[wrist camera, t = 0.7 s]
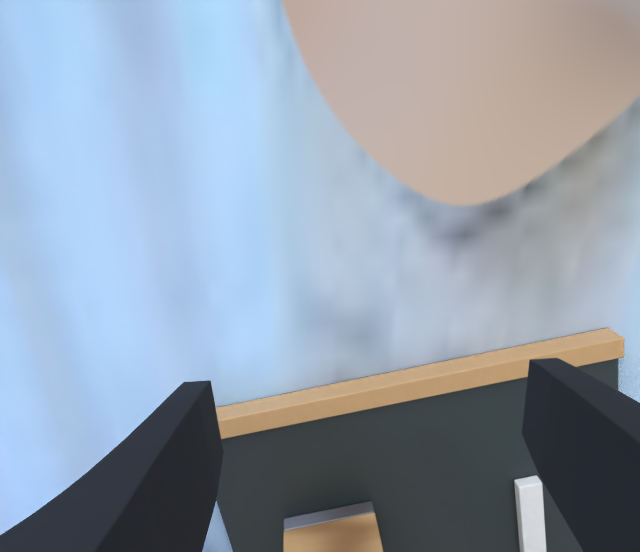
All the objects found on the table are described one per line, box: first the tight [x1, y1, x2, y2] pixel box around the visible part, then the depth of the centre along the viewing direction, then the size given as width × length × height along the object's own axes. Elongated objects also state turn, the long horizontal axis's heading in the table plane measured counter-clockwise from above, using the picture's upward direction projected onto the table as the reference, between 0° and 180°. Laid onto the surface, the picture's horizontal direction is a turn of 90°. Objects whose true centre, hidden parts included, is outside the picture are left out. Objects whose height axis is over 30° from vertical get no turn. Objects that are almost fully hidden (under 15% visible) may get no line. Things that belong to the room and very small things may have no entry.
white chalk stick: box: [514, 475, 546, 552], centre depth 25 cm, size 1×5×1 cm, turn 11°
